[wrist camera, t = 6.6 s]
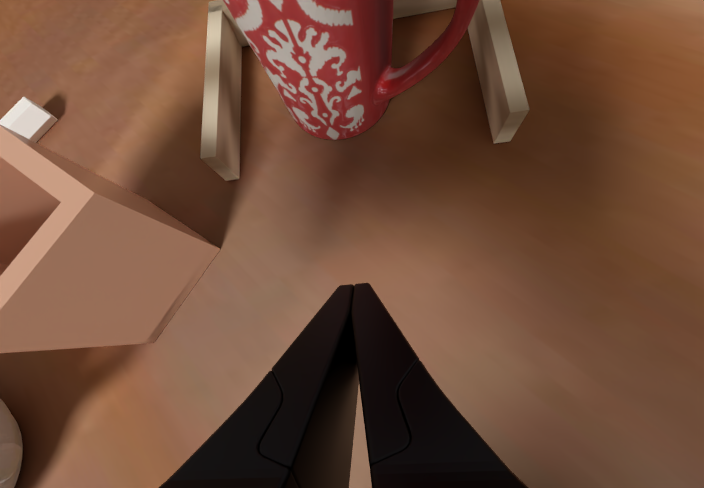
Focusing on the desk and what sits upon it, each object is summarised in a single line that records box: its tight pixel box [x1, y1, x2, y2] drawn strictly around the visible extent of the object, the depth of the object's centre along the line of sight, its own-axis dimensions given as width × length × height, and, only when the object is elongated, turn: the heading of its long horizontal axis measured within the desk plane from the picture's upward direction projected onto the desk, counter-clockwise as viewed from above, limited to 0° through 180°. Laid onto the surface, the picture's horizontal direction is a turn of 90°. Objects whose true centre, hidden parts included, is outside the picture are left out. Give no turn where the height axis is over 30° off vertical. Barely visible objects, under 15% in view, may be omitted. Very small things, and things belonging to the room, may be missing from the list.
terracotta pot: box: [0, 125, 220, 353], centre depth 17 cm, size 7×7×9 cm
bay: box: [200, 0, 530, 181], centre depth 21 cm, size 12×19×3 cm, turn 95°
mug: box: [223, 0, 479, 140], centre depth 16 cm, size 13×9×14 cm
